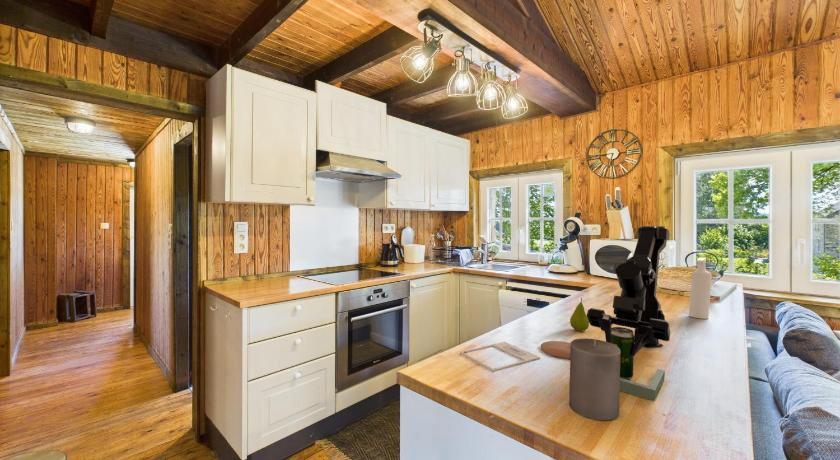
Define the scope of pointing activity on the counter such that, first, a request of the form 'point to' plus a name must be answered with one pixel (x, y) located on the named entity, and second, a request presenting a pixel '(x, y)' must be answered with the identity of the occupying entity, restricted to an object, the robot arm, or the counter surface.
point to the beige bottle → (700, 291)
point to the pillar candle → (594, 379)
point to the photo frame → (508, 349)
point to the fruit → (579, 318)
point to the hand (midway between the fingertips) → (620, 352)
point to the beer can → (624, 350)
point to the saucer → (557, 349)
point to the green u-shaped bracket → (644, 386)
